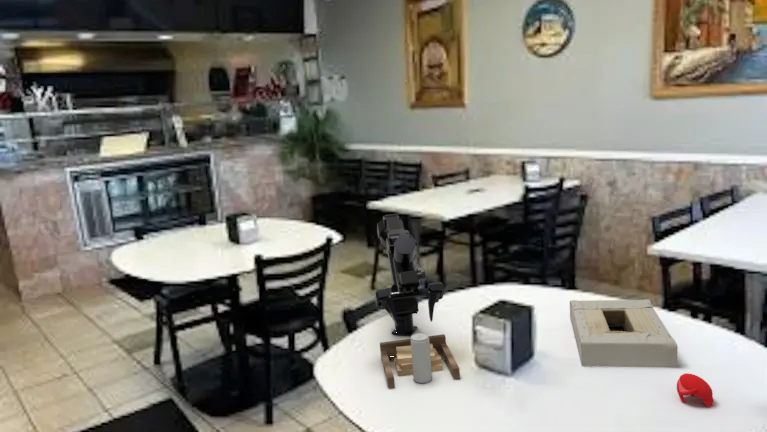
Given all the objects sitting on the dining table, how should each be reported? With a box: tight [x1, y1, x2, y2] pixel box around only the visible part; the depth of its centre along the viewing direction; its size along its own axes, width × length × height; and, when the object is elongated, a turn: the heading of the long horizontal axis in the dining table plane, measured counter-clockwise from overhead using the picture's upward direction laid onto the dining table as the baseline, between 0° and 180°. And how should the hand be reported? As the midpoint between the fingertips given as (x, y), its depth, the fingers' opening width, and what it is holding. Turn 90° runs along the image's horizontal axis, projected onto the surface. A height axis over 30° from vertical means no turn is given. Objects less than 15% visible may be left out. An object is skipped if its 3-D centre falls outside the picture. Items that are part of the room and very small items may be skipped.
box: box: [569, 298, 678, 369], centre depth 165 cm, size 23×8×32 cm
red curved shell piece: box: [676, 373, 714, 408], centre depth 132 cm, size 8×6×6 cm
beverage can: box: [410, 332, 433, 384], centre depth 153 cm, size 5×5×12 cm
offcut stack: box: [393, 344, 443, 377], centre depth 161 cm, size 9×12×4 cm
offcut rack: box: [379, 333, 461, 389], centre depth 160 cm, size 18×19×5 cm
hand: (414, 323), depth 158 cm, fingers open, 9 cm apart
